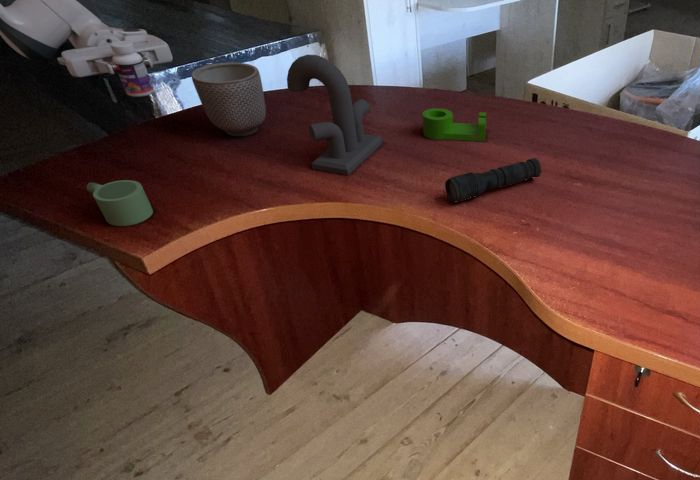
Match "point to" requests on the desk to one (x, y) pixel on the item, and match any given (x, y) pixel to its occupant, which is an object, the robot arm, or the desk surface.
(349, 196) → the desk surface
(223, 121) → the planter
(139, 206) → the scoop
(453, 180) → the flashlight
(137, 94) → the pill bottle
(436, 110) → the tape dispenser
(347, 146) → the faucet
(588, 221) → the desk surface
